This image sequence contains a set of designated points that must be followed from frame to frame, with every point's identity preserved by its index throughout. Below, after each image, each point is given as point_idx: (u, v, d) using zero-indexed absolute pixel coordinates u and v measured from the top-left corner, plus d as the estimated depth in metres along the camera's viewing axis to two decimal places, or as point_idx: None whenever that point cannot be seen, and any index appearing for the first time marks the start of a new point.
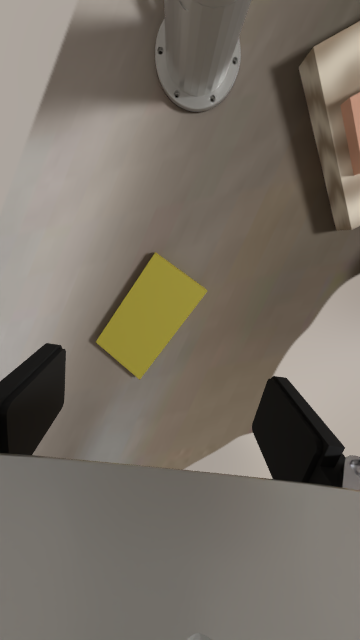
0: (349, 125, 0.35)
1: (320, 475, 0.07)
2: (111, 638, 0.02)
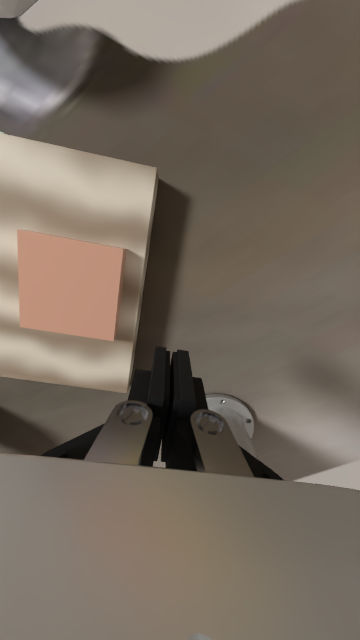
0: (118, 312, 0.26)
1: (176, 427, 0.08)
2: (111, 638, 0.02)
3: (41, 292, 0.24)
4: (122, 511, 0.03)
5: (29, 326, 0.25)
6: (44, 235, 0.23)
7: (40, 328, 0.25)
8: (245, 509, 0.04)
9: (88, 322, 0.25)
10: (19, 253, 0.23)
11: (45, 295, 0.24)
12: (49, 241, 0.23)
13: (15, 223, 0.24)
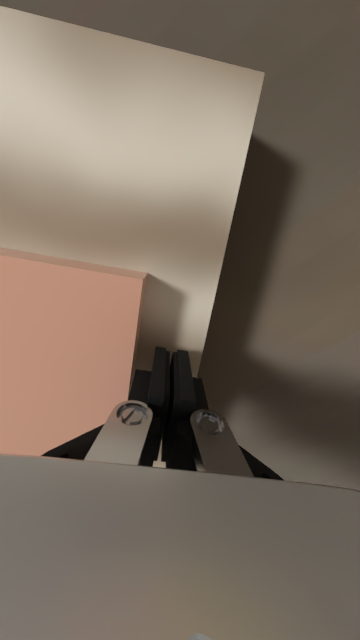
0: None
1: (176, 427, 0.08)
2: (111, 638, 0.02)
3: None
4: (122, 511, 0.03)
5: None
6: None
7: None
8: (245, 509, 0.04)
9: (61, 438, 0.11)
10: None
11: None
12: None
13: None
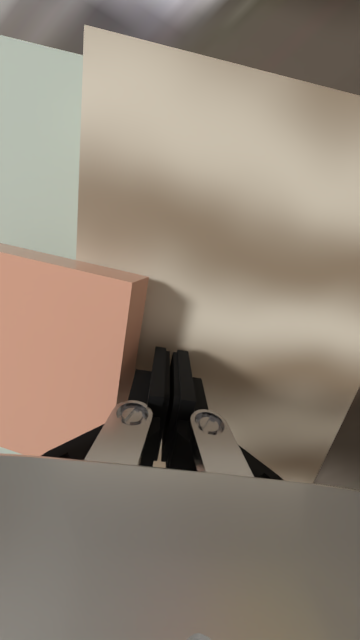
0: None
1: (176, 427, 0.08)
2: (111, 638, 0.02)
3: None
4: (122, 511, 0.03)
5: None
6: None
7: None
8: (245, 509, 0.04)
9: (53, 437, 0.11)
10: None
11: None
12: None
13: (135, 259, 0.11)
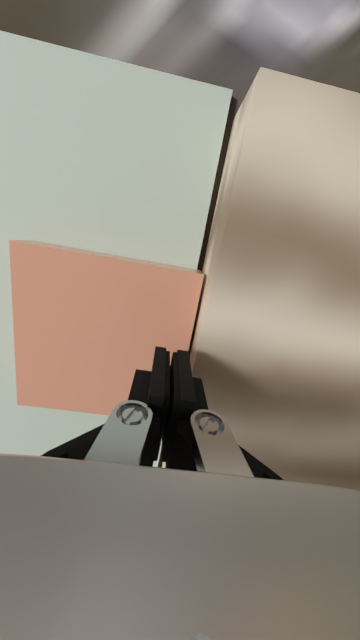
0: None
1: (176, 427, 0.08)
2: (111, 638, 0.02)
3: (55, 350, 0.14)
4: (122, 511, 0.03)
5: (33, 403, 0.15)
6: (60, 251, 0.12)
7: (52, 406, 0.15)
8: (245, 509, 0.04)
9: None
10: (14, 284, 0.12)
11: (61, 354, 0.14)
12: (70, 262, 0.12)
13: (268, 282, 0.11)
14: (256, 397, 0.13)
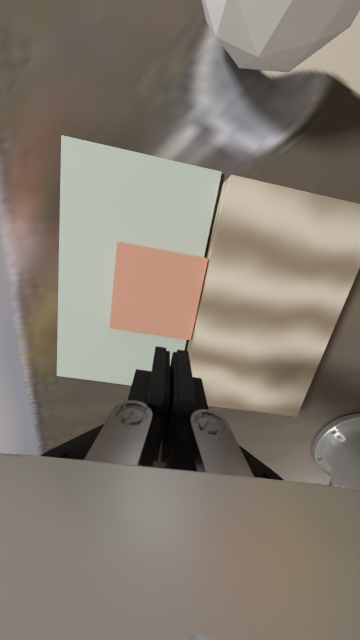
0: None
1: (176, 427, 0.08)
2: (111, 638, 0.02)
3: (132, 297, 0.27)
4: (122, 511, 0.03)
5: (117, 327, 0.28)
6: (140, 247, 0.25)
7: (127, 329, 0.28)
8: (245, 509, 0.04)
9: (169, 323, 0.28)
10: (116, 263, 0.26)
11: (135, 299, 0.27)
12: (144, 252, 0.26)
13: (237, 261, 0.25)
14: (233, 320, 0.27)
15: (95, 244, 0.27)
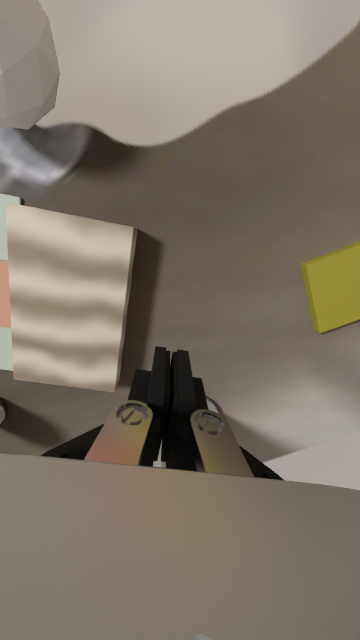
0: None
1: (176, 427, 0.08)
2: (111, 638, 0.02)
3: None
4: (122, 511, 0.03)
5: None
6: None
7: None
8: (245, 509, 0.04)
9: None
10: None
11: None
12: None
13: (28, 266, 0.32)
14: (38, 312, 0.34)
15: None
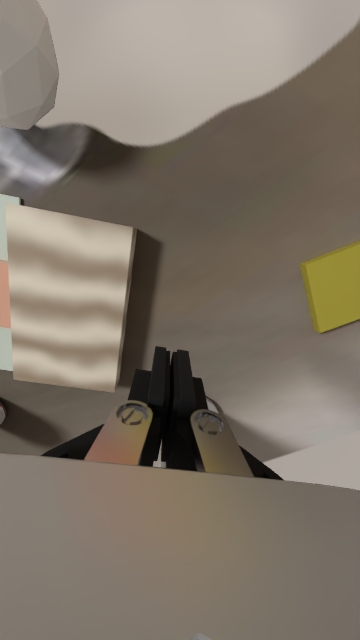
0: None
1: (176, 427, 0.08)
2: (111, 638, 0.02)
3: None
4: (122, 511, 0.03)
5: None
6: None
7: None
8: (245, 509, 0.04)
9: None
10: None
11: None
12: None
13: (28, 267, 0.32)
14: (38, 312, 0.34)
15: None
